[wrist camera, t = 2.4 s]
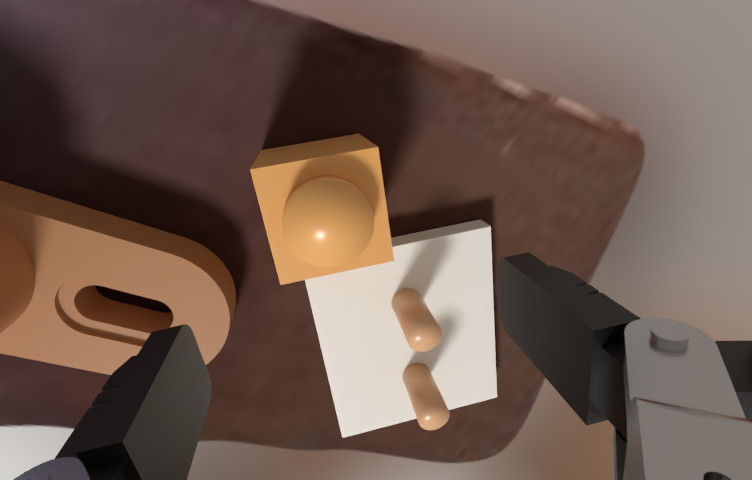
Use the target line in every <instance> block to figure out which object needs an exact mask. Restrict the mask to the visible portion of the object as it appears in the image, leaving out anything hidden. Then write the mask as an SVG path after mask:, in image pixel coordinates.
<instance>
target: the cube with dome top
mask: <svg viewBox="0 0 752 480" xmlns="http://www.w3.org/2000/svg"><path fill="white" fill-rule="evenodd" d="M250 171H251V175H252V179H253V183H254V187H255V190H256V194H257V198H258V202H259V205H260V209H261V213H262V217H263V221H264V224H265V228H266V232H267V236H268V239H269V243H270V247H271V251H272V255H273V258H274V262H275V266H276V270H277V273H278V277H279V281H280V285H283V284H288V283H292V282H297V281H302V280H306V279H311V278H316V277H320V276H325V275H330V274H335V273H339V272H344V271H349V270H353V269H358V268H363V267H368V266H372V265H377V264H382V263H386V262H391V261H394V256H393V249H392V242H391V235H390V227H389V220H388V213H387V206H386V199H385V192H384V184H383V177H382V170H381V163H380V156H379V148H378V146H376V145H375V144H373V143H372V142H370V141H369V140H367V139H366V138H365V137H363V136H362V135H360V134H353V135H347V136H342V137H336V138H330V139H324V140H318V141H312V142H306V143H301V144H295V145H289V146H283V147H277V148H271V149H265V150H261V152H260V154H259V155H258V157H257V159H256V160H255V162H254V164H253V165H252V167H251V169H250Z"/></svg>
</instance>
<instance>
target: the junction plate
mask: <svg viewBox="0 0 752 480" xmlns="http://www.w3.org/2000/svg"><path fill="white" fill-rule="evenodd" d="M391 242H392V249H393V256H394V261H391V262H386V263H382V264H377V265H372V266H368V267H363V268H358V269H353V270H349V271H344V272H339V273H335V274H330V275H325V276H320V277H316V278H311V279H306V280H305V282H306V287H307V291H308V295H309V299H310V303H311V308H312V312H313V316H314V320H315V325H316V329H317V333H318V337H319V341H320V346H321V350H322V354H323V358H324V362H325V367H326V371H327V375H328V379H329V384H330V388H331V392H332V396H333V400H334V405H335V409H336V413H337V417H338V421H339V426H340V430H341V434H342V438H344V437H348V436H352V435H356V434H359V433H363V432H367V431H371V430H375V429H378V428H382V427H386V426H390V425H394V424H397V423H401V422H405V421H409V420H413V419H416V418H417V420H418V422H419V425H420V426H421V427H422V428H423V429H426V430H435V429H438V428H440V427H442V426H443V425H445V424H446V422H447V421H448V419H449V415H450V413H449V410H451V409H454V408H458V407H462V406H466V405H470V404H473V403H477V402H481V401H485V400H488V399H492V398H496V397H497V380H496V353H495V326H494V299H493V272H492V245H491V226H489V225H488V224H487V223H485V222H484V221H482V220H481V219H480V220H475V221H470V222H465V223H461V224H456V225H451V226H446V227H441V228H436V229H431V230H426V231H422V232H417V233H412V234H407V235H402V236H397V237H392V238H391Z"/></svg>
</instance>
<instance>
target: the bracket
mask: <svg viewBox="0 0 752 480" xmlns="http://www.w3.org/2000/svg"><path fill="white" fill-rule="evenodd" d="M95 285H98V286H103V287H107V288H111V289H115V290H119V291H122V292H126V293H130V294H134V295H138V296H142V297H146V298H150V299H154V300H157V301H160V302H163V303H164V304H166V305H167V306H168V307H169V308H170V309H171V311H172V312H169V313H164V312H159V311H155V310H151V309H147V308H143V307H139V306H135V305H131V304H127V303H123V302H119V301H115V300H111V299H108V298H106V297H104V296H102V295H101V294H100V293H99V292H98V291H97V289H96V287H95ZM235 306H236V290H235V285H234V282H233V279H232V277H231V274H230V273H229V271H228V269H227V268H226V266H225V265H224V263H223V262H222V261H221V260H220V259H219V258H218V257H217V256H216V255H215V254H214V253H213V252H211V251H210V250H209V249H207V248H206V247H204V246H203V245H201V244H199V243H197V242H195V241H193V240H190V239H188V238H185V237H182V236H179V235H175V234H172V233H169V232H166V231H162V230H159V229H156V228H153V227H149V226H146V225H143V224H140V223H136V222H133V221H130V220H127V219H123V218H120V217H117V216H114V215H110V214H107V213H104V212H101V211H97V210H94V209H91V208H88V207H84V206H81V205H78V204H75V203H71V202H68V201H65V200H62V199H58V198H55V197H52V196H49V195H46V194H42V193H39V192H36V191H33V190H29V189H26V188H23V187H20V186H16V185H13V184H10V183H7V182H3V181H0V353H2V354H7V355H12V356H17V357H22V358H27V359H32V360H38V361H43V362H48V363H53V364H58V365H63V366H68V367H73V368H78V369H83V370H88V371H93V372H98V373H103V374H108V375H112V373H113V372H114V371H115V370H117V369H118V368H119V367H120V366H121V365H122V364H124V363H125V362H126V361H127V360H128V359H129V358H131V357H132V356H136V355H137V354H138V353H139V351H140V350H141V348H142V347H143V345H144V343H145V342H146V340H147V339H148V337H149V335H150V334H151V333H152V332H153V331H155V330H160V329H165V328H169V327H174V326H179V325H184V324H187V325H189V326H190V328H191V329H192V331H193V333H194V336H195V339H196V341H197V344H198V347H199V349H200V352H201V355H202V357H203V360H204V363H205V365H206V364H208V363H209V362H210V361H211V360H212V359H213V358H214V357H215V356H216V355H217V354H218V353H219V351H220V350H221V348H222V347H223V345H224V343H225V341H226V338H227V336H228V332H229V329H230V325H231V322H232V318H233V315H234V311H235Z"/></svg>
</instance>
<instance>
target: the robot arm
mask: <svg viewBox="0 0 752 480" xmlns="http://www.w3.org/2000/svg"><path fill="white" fill-rule="evenodd" d="M497 272H498V304H499V315H500V319H501V322H502V324H503V327H504V329H505V330H506V332H507V333H508V334H509V336H510V337H511V338H512V339H513V340H514V341H515V342H516V344H517V345H518V346H519V347H520V348H521V349H522V351H523V352H524V353H525V354H526V355H527V356H528V358H529V359H530V360H531V361H532V362H533V363H534V365H535V366H536V367H537V368H538V369H539V370H540V372H541V373H542V374H543V375H544V376H545V377H546V379H547V380H548V381H549V382H550V383H551V384H552V386H553V387H554V388H555V389H556V390H557V391H558V393H559V394H560V395H561V396H562V397H563V398H564V400H565V401H566V402H567V403H568V404H569V405H570V407H571V408H572V409H573V410H574V411H575V412H576V413H577V415H578V416H579V417H580V418H581V419H582V421H583V422H584V423H585V424H586V425H590V424H594V423H597V422H601V421H605V420H609V421H610V422H611V423H612V425H613V426H614V435H613V451H614V480H752V341H714V340H713V339H712V338H711V337H710V336H709V335H707V334H706V333H705V332H703V331H701V330H700V329H698V328H696V327H694V326H691V325H688V324H685V323H683V322H679V321H675V320H670V319H664V318H643V319H640V318H639V317H637V316H636V315H634V314H633V313H631V312H630V311H628V310H627V309H625V308H624V307H622V306H621V305H619V304H618V303H616V302H615V301H613V300H612V299H610V298H609V297H607V296H606V295H604V294H603V293H599V292H598V290H597V289H595V288H594V287H592V286H591V285H589V284H588V285H587V284H586V282H585V281H583V280H582V279H580V278H579V277H577V276H576V275H574V274H573V273H571V272H568V271H565V270H562V269H559V268H556V267H553V266H550V267H549V266H548V265H546V264H545V263H543V262H542V261H540V260H539V259H538V258H536V257H535V256H533V255H532V254H530V253H524V254H519V255H514V256H509V257H505V258H501V259H500V260H499V261H498V266H497ZM101 391H102V392H101V393H99V394H98V395H97V397H96V398H95V400H94V401H93V403H92V404H91V405H92V407H91V408H89V409H88V410H87V412H86V413H85V415H84V416H83V418H82V419H81V421H80V422H79V423H78V425H77V426H76V428H75V429H74V431H73V432H72V434H71V435H70V437H69V438H68V440H67V441H66V443H65V444H64V446H63V447H62V449H61V450H60V452H59V453H58V455H57V456H56V458H55V459H53V460H50V461H47V462H45V463H42V464H40V465H38V466H36V467H34V468H32V469H30V470H28V471H26V472H25V473H23V474H21V475H20V476H18V477H17V478H15V479H14V480H187V477H188V473H189V470H190V467H191V463H192V460H193V457H194V453H195V450H196V447H197V443H198V440H199V437H200V433H201V430H202V427H203V423H204V420H205V417H206V413H207V410H208V406H209V403H210V399H211V382H210V377H209V374H208V371H207V368H206V366H205V363H204V360H203V357H202V355H201V352H200V349H199V347H198V344H197V341H196V339H195V336H194V333H193V331H192V329H191V328H190V326H189V325H187V324H184V325H179V326H174V327H169V328H165V329H160V330H155V331H153V332H152V333H151V334H150V335H149V337H148V339H147V340H146V342H145V343H144V345H143V347H142V348H141V350H140V351H139V353H138V354H137V355H136V356H132V357H131V358H129V359H128V360H127V361H126V362H125V363H124V364H122V365H121V366H120V367H119V368H118V369H117V370H115V371H114V372H113V373H112V375H111V376H110V378H109V379H108V381H107V382H106V384H105V385H104V387H103V388H102V390H101Z"/></svg>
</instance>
